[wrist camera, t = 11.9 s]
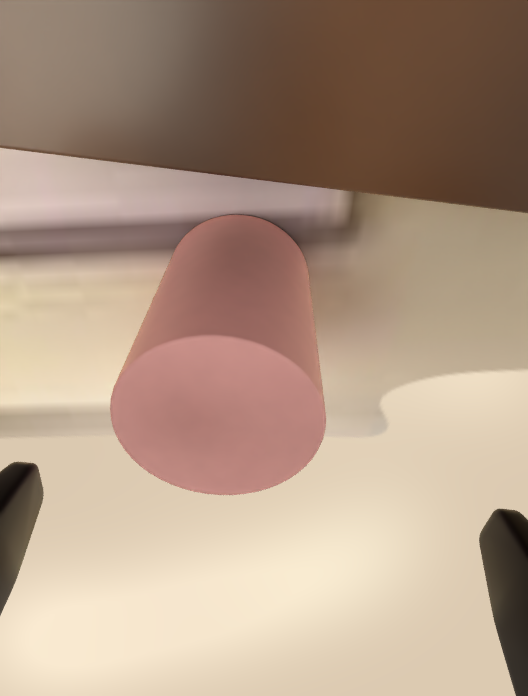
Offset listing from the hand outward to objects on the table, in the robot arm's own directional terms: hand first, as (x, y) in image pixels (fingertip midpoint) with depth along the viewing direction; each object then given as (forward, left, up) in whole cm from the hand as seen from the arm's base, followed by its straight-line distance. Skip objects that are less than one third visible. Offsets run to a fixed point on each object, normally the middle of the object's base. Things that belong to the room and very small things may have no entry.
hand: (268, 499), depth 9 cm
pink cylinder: (+1, 0, -11) cm, 11 cm away
